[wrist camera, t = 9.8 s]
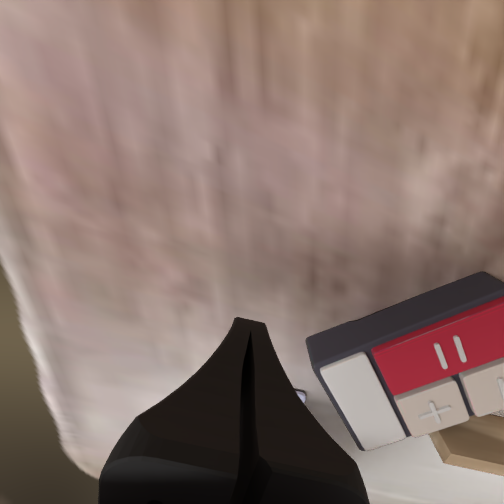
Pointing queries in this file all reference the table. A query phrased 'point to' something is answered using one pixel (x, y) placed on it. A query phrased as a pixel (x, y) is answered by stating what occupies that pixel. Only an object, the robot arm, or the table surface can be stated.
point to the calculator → (416, 363)
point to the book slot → (473, 444)
